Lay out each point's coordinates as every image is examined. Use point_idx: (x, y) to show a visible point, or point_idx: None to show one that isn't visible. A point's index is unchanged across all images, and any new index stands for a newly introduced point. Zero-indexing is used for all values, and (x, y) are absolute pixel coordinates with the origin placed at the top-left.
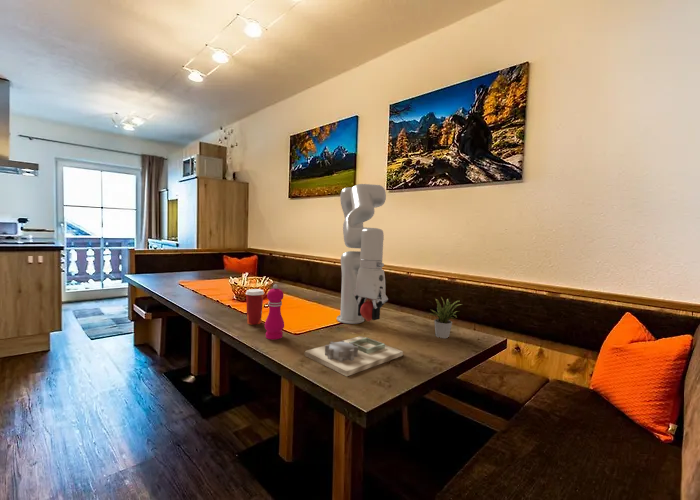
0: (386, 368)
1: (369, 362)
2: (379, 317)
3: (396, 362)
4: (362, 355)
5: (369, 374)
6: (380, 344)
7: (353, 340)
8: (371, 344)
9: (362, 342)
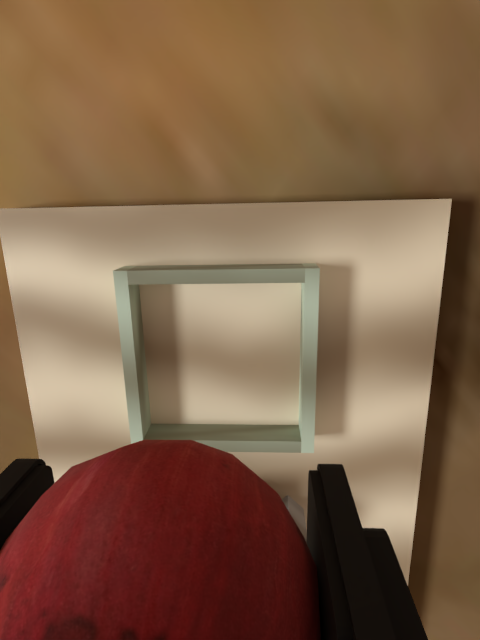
0: (476, 440)
1: (408, 516)
2: (343, 473)
3: (471, 329)
4: (307, 475)
5: (454, 550)
6: (280, 280)
7: (57, 330)
8: (196, 285)
9: (140, 325)
